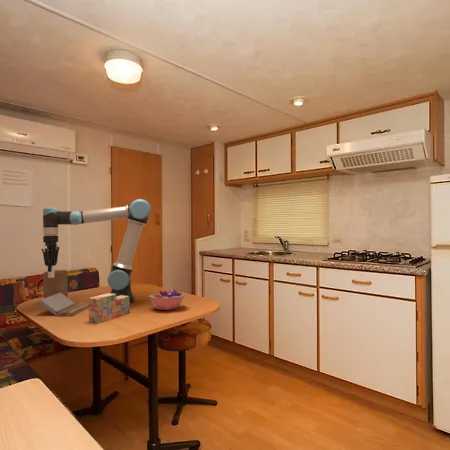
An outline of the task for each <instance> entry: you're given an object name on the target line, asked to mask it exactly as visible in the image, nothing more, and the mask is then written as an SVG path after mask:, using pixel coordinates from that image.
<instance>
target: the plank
mask: <svg viewBox="0 0 450 450" xmlns="http://www.w3.org/2000/svg"><path fill="white" fill-rule="evenodd" d="M38 304H39V305H41V306H42V307H43V308H45V309H46V310H48V312H50V313H52V314H53V315H54V316H57V317H58V312H60V311H62V310H64V309H66V308H69V307H71V306H73V305H75V304H77V303H76V302H74V301H73V300H72V299H70V298H69V297H68V298H67V297H66V296H65V295H63V294H62V293H58V294H55V295H52V296H49V297H47V298H44V297H43V298H42V299H40V300H39V302H38Z"/></svg>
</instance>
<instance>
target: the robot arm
mask: <svg viewBox="0 0 450 450" xmlns="http://www.w3.org/2000/svg"><path fill="white" fill-rule="evenodd" d="M151 212H152V206H151V204H150V203H149V202H148V201H147V200H146V199H143V198H138V199H134V201H132V202H131V203H127V204H126V205H124V206H116V207H107V208H97V209H90V210H82V211H76V210H75V211H74V210H73V211H72V210H71V211H67V210H66V211H65V210H64V211H61V210H60V211H59V209H58V207H44V208H43V210H42V228H43V229H42V233H43V236H42V240H43V243H45V244H44V247H43V248H41V251H42V254H43V255H42V256H43V262H44V266H45V267H47V271H48V278H53V277H54V270H55V266H57V263H58V260H59V259H58V257H59V253H60V252H59V251H60V246H58V244H57V243H58V242H59V226H61V225H66V226H67V225H70V226H71V225H73V226H75V225H82V224H89V223H90V224H91V223H98V222H105V221H114V220H123V219H126V220H127V222H128V223H127V227H126V229H125V230H126V231H125V233H124V237H123V239H122V243H121V247H120V250H119V252H118V256H117V258H116V261H115V262H114V263H112V265H111V266H110V272H109V274H108V276H107V284H108V285H109V288H111V289H110V293H112V294H116V296H120V295H124V296H129V302H130V303H133V302H134V301H135V296H134V293H133V290H132V286H131V285H132V283H131V282H132V281H131V280H132V279H131V278H132V272H133V267H132V264H133V260H134V257H135V254H136V251H137V247H138V244H139V241H140V238H141V234H142V230H143V227H144V226H146V225H147V223H148V221H149V217H150V215H151Z"/></svg>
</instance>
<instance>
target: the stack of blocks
mask: <svg viewBox="0 0 450 450" xmlns="http://www.w3.org/2000/svg"><path fill="white" fill-rule="evenodd" d="M88 303H89V308H88V314H89V315H88V321H89V323H94V324H97V323H98V324H100V323H104V322H107V321H110V320H113V319H115V318H119V317H121V316H125V315H128V314H130V313H131V309H130V308H131V305H130V303H131V302H129V296H124V295H120V296H116V294H112V293H111V292H107V293H104V294H99V295H95V296H91V297H88Z"/></svg>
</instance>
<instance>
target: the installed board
mask: <svg viewBox="0 0 450 450" xmlns="http://www.w3.org/2000/svg"><path fill="white" fill-rule="evenodd" d="M86 310H89V302H87V303H83V302H78V303H76V304H75V305H73V306H71V307H69V308H66V309H64V310H62V311H60V312H58V315H57V317H61V318H62V317H68V318H69V317H74V316H76V315H78V314H80V313H82V312H84V311H86Z"/></svg>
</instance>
